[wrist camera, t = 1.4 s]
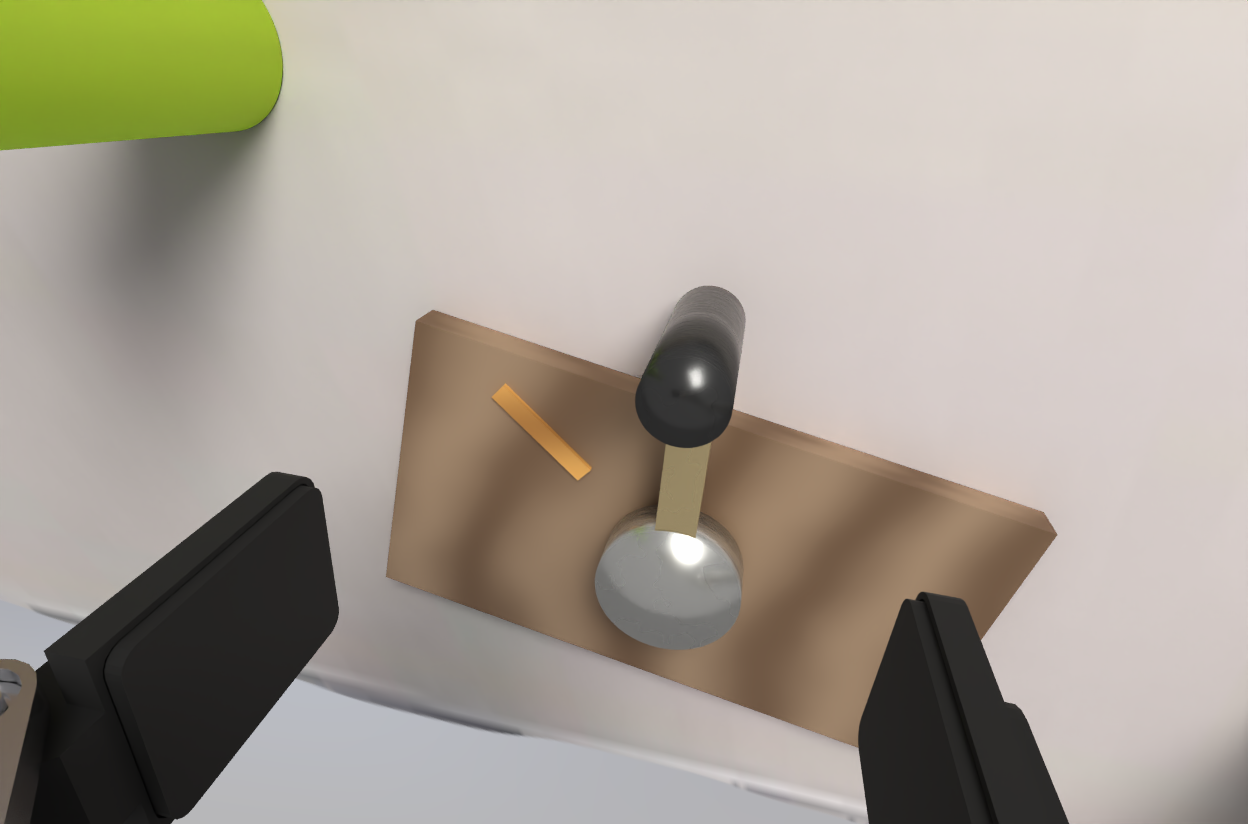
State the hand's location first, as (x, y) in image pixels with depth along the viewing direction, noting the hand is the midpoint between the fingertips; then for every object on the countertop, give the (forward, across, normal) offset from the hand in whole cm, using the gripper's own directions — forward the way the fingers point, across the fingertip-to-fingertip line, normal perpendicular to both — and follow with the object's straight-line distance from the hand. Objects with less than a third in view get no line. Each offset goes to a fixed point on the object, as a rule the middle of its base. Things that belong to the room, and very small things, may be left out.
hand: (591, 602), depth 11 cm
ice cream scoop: (+15, -1, +7) cm, 16 cm away
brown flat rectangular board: (+17, -1, +11) cm, 20 cm away
